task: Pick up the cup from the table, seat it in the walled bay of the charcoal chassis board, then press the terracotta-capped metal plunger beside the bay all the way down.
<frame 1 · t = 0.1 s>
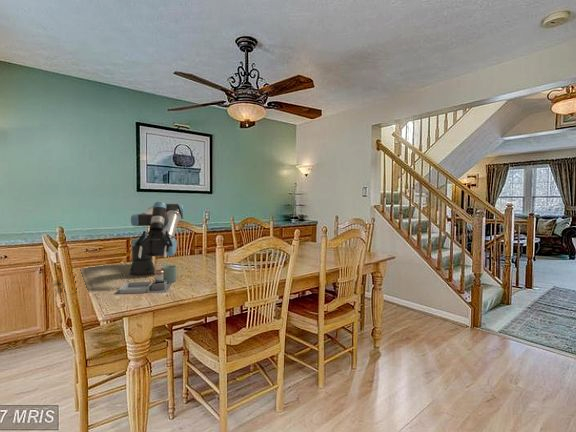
hand: (152, 257, 180), 15 cm above the table, tool tilted 35°, fingers open, 13 cm apart
cup: (169, 284, 180), on the table
plunger: (159, 276, 166), point 8 cm above the table, slide at 0.0 cm
chassis: (146, 291, 166), on the table
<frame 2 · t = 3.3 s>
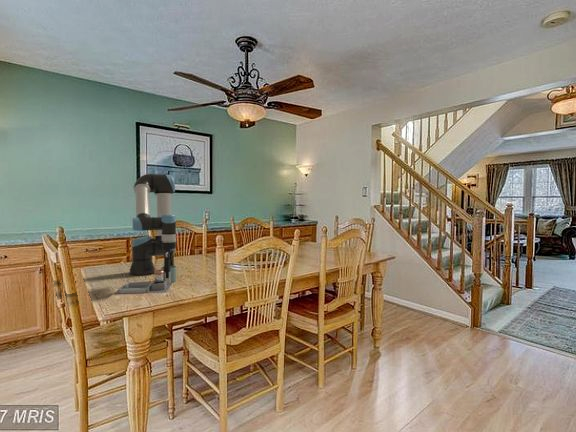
hand: (169, 281, 179), 2 cm above the table, tool pointing down, fingers closed on cup, 8 cm apart
cup: (169, 284, 179), on the table, touching gripper
everything else where it was.
when the fingers open (5 cm above the table, at t = 8.7 s): cup drops 2 cm, resting on chassis.
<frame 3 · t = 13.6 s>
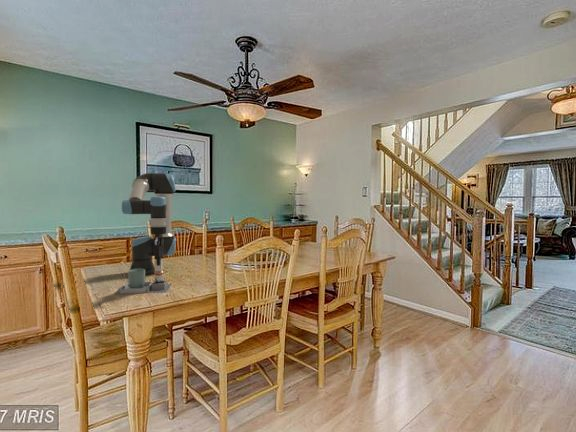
hand: (159, 271, 166), 11 cm above the table, tool pointing down, fingers closed
cup: (137, 289, 165), point 1 cm above the table, touching chassis
plunger: (159, 277, 166), point 7 cm above the table, slide at 0.3 cm, touching gripper
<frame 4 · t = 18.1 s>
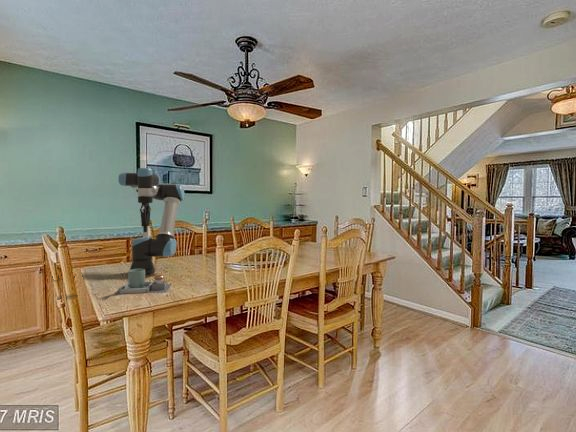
hand: (146, 237, 179), 26 cm above the table, tool pointing down, fingers closed
plunger: (159, 281, 167), point 5 cm above the table, slide at 2.7 cm
everything else where it was.
at the end: cup inside the target area on the chassis (0.2 cm from its centre), point 1.3 cm above the chassis's base; cup tilted 0°; plunger slide at 2.7 cm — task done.
